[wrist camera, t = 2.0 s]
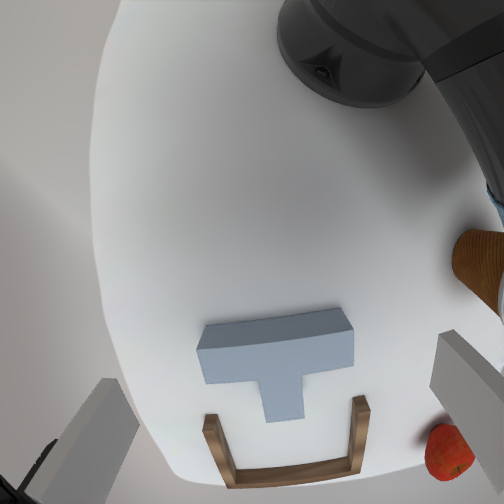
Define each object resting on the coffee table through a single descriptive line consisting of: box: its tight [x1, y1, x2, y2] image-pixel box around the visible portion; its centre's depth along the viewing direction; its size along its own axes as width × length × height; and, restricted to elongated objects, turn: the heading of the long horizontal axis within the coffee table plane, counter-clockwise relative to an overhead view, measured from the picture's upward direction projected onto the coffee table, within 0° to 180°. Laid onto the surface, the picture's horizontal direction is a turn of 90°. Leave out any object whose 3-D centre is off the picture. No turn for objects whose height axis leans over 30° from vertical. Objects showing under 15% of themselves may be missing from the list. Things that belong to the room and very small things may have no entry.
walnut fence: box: [202, 395, 371, 489], centre depth 33 cm, size 15×20×3 cm
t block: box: [196, 308, 354, 423], centre depth 28 cm, size 10×14×5 cm
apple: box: [425, 424, 475, 481], centre depth 28 cm, size 9×8×11 cm
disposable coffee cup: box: [452, 229, 504, 325], centre depth 21 cm, size 10×10×12 cm
